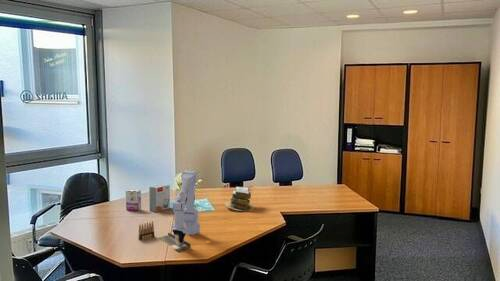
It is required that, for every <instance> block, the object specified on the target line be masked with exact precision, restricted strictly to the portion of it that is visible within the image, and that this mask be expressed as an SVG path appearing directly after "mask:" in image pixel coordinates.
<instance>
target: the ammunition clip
mask: <svg viewBox="0 0 500 281" xmlns="http://www.w3.org/2000/svg"><path fill="white" fill-rule="evenodd" d="M154 237H155V226H154V221H153V220H152V221H149V222H148V221H147V222H146V223H145V222H144V223H142V224H138V237H137V238H138V241H142V240H147V239H149V238H154Z"/></svg>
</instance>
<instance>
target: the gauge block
mask: <svg viewBox="0 0 500 281" xmlns="http://www.w3.org/2000/svg"><path fill="white" fill-rule="evenodd" d="M184 241H185V240H184ZM184 241H183V243H180V242H179V236H178V234H175V244H177V245H182V244H184Z"/></svg>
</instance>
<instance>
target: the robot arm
mask: <svg viewBox="0 0 500 281" xmlns="http://www.w3.org/2000/svg"><path fill="white" fill-rule="evenodd" d="M180 175H181V176H180V177H181V181H182V183H181V188H180V191H178V192H177V195H176V199H175V202H173V203H172V211H173V214H174V215H173V216H174V219H173V220H174V224H171V228H172V230H171V231H172V234H173V235H175V234H178V236H179V242H180V243H183V241H185V238H186V237H185V236H194V235H196V234H199V235H201V233H200V232H201V228H200V227H201V226H200V225H201V224H200V223H199V222H200V221H198V220H199V210H197V209H196V208H195V198H196V196H195V195H196V194H195V192H196V184H197V183H198V180H199V174H198V171H196V170H182V172H181V174H180Z"/></svg>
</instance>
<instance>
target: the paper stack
mask: <svg viewBox="0 0 500 281" xmlns="http://www.w3.org/2000/svg"><path fill="white" fill-rule="evenodd" d="M251 197H252V195H251V191H250V188H249V186H248V187H241V186H236V187H235V189H233V191H232V197H231V199H230V200H228V201H226V202H224V205H225V206H226V207H227V208H229V209H232V210H235V211H240V212H251V211H254V209H255V208H256V207H255V206H253V205H252V204H251V203H250V202H251V201H250V199H251Z"/></svg>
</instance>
